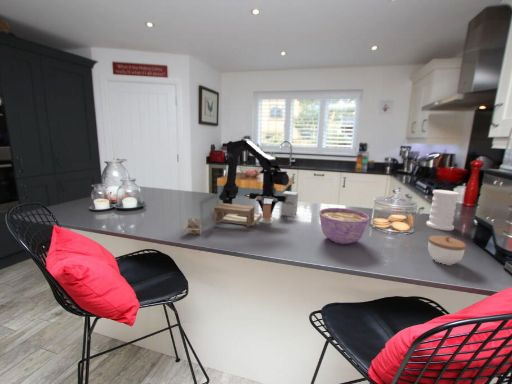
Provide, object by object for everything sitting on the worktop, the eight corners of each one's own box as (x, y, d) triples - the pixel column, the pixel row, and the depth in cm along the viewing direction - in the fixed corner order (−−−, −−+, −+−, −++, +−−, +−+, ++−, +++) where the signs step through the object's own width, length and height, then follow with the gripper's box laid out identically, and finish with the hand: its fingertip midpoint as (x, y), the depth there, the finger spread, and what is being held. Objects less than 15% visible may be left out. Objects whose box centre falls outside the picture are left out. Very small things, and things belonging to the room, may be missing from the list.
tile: (263, 217, 140) (263, 216, 139) (275, 218, 138) (275, 217, 138) (258, 222, 131) (258, 221, 131) (271, 223, 129) (271, 222, 129)
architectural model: (199, 237, 111) (198, 220, 109) (183, 236, 111) (182, 220, 110) (201, 234, 114) (201, 218, 113) (185, 233, 115) (185, 217, 113)
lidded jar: (429, 264, 91) (434, 239, 89) (422, 252, 101) (426, 229, 99) (466, 271, 87) (472, 244, 85) (455, 257, 97) (460, 234, 95)
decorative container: (459, 230, 127) (467, 194, 124) (437, 230, 126) (443, 194, 123) (441, 222, 139) (447, 189, 135) (421, 222, 138) (426, 189, 134)
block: (264, 216, 137) (264, 203, 135) (271, 216, 135) (272, 203, 134) (262, 218, 133) (262, 205, 131) (270, 219, 132) (270, 205, 130)
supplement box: (280, 215, 144) (281, 193, 142) (284, 212, 151) (285, 190, 148) (293, 217, 142) (295, 194, 139) (297, 213, 148) (298, 192, 146)
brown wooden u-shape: (221, 217, 132) (221, 203, 130) (254, 221, 127) (254, 206, 126) (214, 222, 123) (214, 207, 122) (248, 226, 119) (248, 211, 117)
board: (232, 213, 145) (232, 210, 145) (261, 216, 141) (261, 213, 141) (220, 221, 131) (220, 218, 131) (253, 225, 126) (253, 222, 126)
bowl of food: (313, 231, 121) (314, 207, 118) (356, 232, 120) (359, 208, 118) (322, 249, 101) (324, 220, 99) (374, 251, 101) (378, 222, 98)
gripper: (289, 181, 136) (288, 210, 139) (255, 179, 141) (254, 207, 144) (285, 185, 125) (284, 216, 128) (248, 182, 130) (248, 212, 133)
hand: (267, 212), depth 134 cm, fingers closed on block, 4 cm apart
